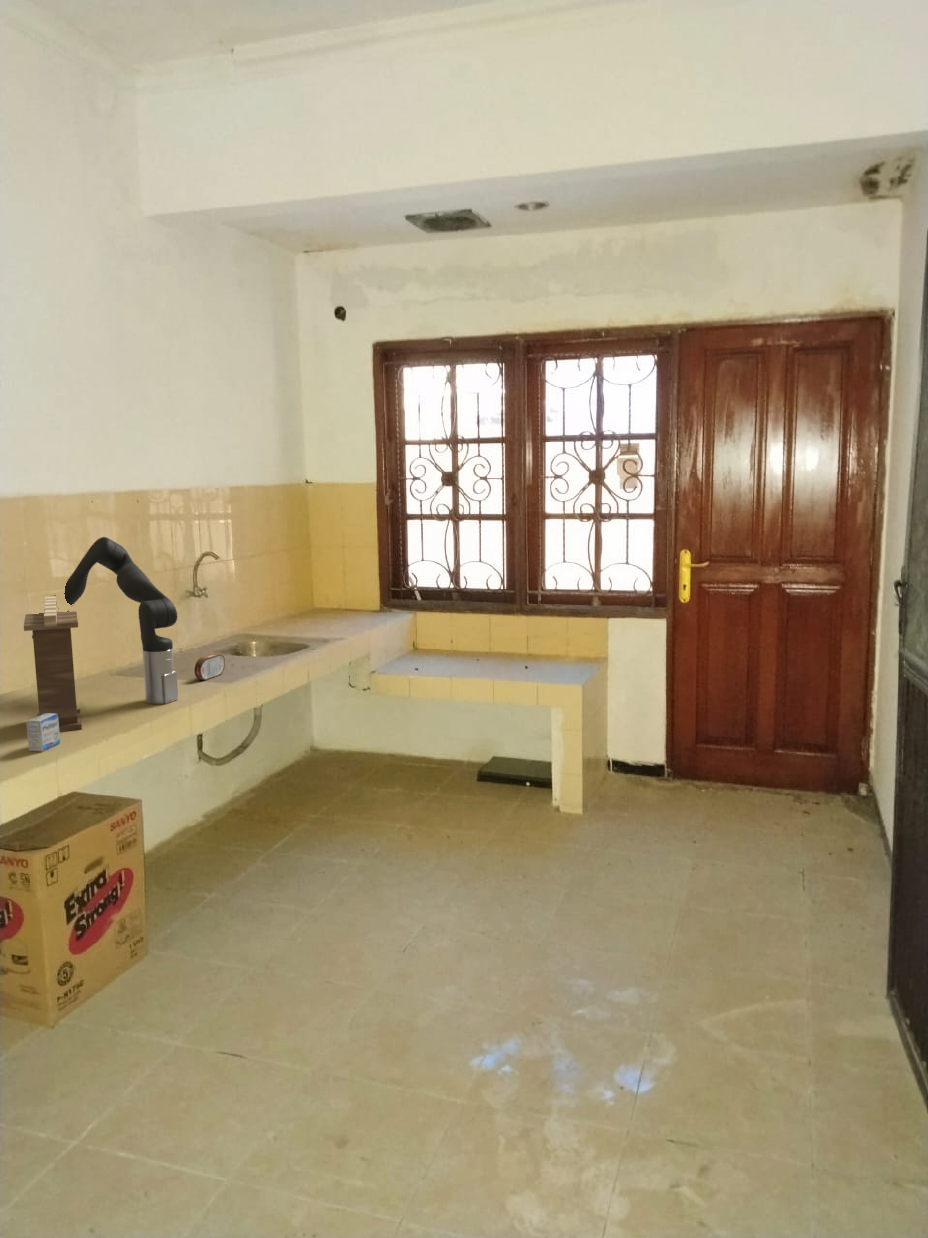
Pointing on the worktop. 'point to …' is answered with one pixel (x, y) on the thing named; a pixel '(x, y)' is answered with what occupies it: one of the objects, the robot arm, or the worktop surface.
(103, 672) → the worktop surface
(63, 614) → the stand
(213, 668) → the tin
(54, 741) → the medicine box
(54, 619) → the bar
